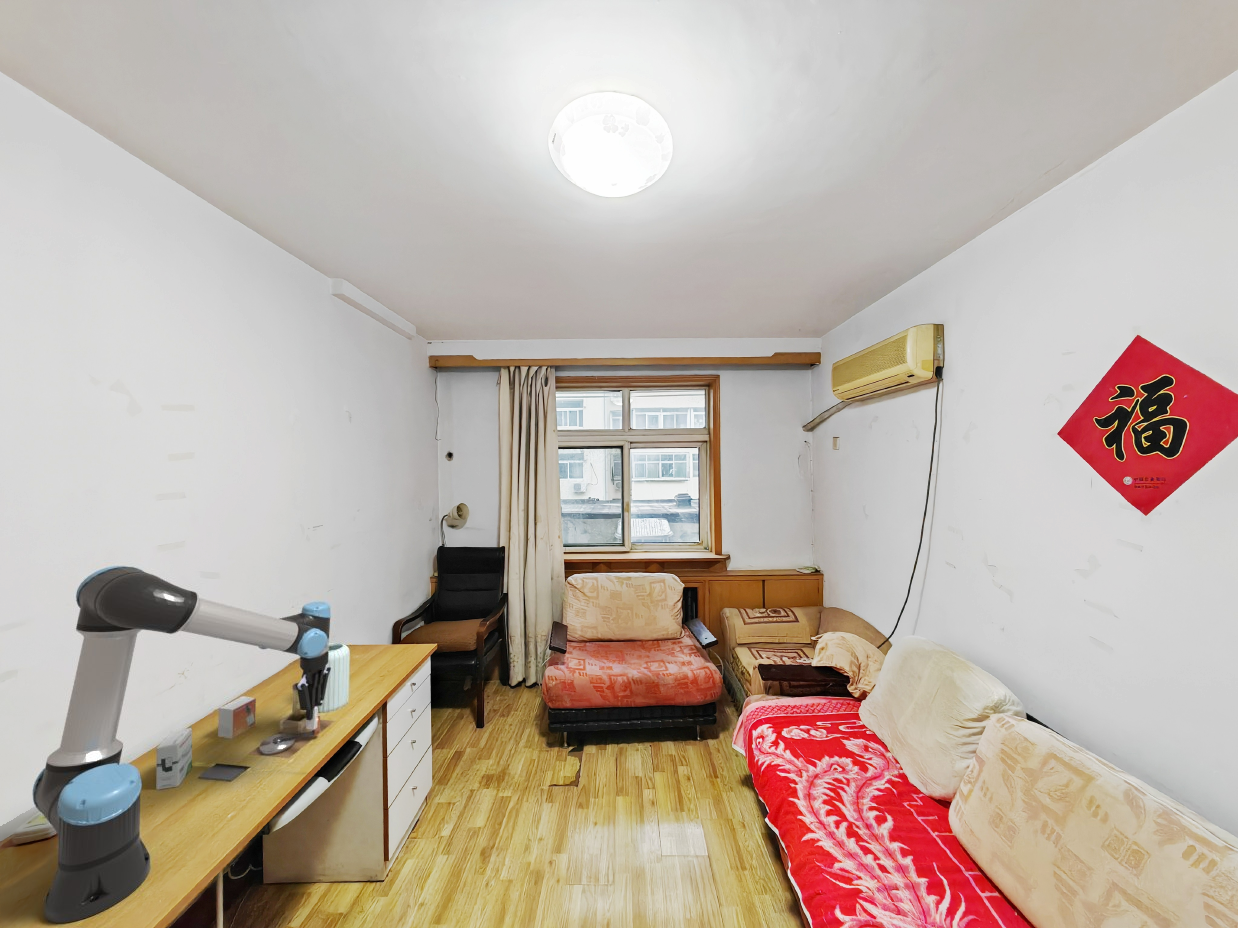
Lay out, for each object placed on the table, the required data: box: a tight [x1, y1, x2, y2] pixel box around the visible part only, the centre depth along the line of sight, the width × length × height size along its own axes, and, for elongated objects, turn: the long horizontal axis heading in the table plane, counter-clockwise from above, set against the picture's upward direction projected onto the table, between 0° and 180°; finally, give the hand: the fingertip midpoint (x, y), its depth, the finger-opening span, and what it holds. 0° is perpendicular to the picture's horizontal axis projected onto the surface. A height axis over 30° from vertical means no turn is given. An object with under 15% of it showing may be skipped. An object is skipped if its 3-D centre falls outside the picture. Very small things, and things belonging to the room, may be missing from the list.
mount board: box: [248, 719, 335, 759], centre depth 153 cm, size 20×13×2 cm, turn 175°
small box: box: [217, 695, 257, 739], centre depth 156 cm, size 8×6×10 cm
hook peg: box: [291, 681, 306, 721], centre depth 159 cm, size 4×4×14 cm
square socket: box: [279, 710, 307, 734], centre depth 159 cm, size 7×7×4 cm
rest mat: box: [197, 762, 251, 782], centre depth 140 cm, size 10×10×1 cm
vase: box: [318, 642, 351, 713], centre depth 173 cm, size 12×12×22 cm
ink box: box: [155, 727, 193, 790], centre depth 135 cm, size 9×5×12 cm, turn 21°
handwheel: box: [258, 715, 321, 754], centre depth 150 cm, size 9×16×6 cm, turn 119°
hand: (311, 727), depth 151 cm, fingers closed
